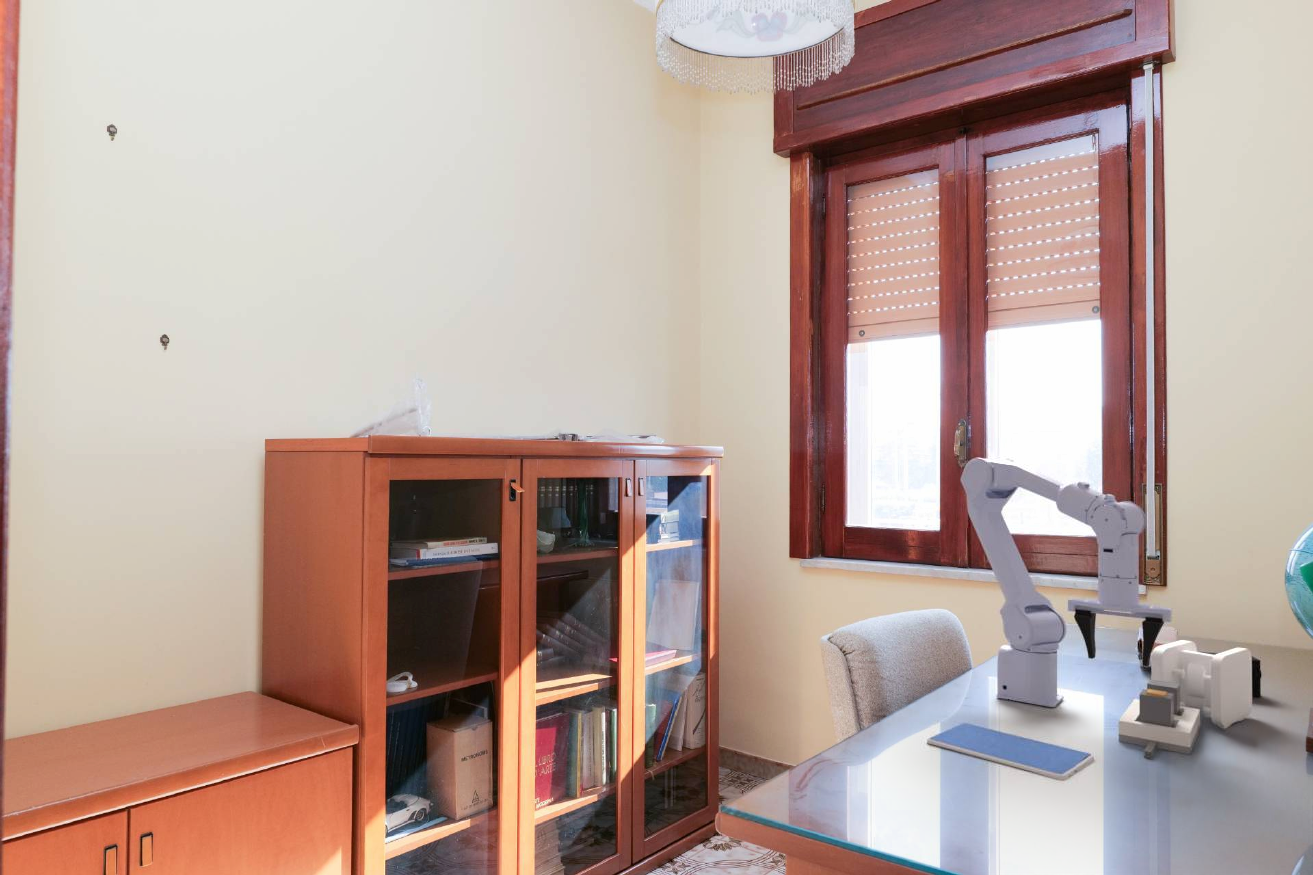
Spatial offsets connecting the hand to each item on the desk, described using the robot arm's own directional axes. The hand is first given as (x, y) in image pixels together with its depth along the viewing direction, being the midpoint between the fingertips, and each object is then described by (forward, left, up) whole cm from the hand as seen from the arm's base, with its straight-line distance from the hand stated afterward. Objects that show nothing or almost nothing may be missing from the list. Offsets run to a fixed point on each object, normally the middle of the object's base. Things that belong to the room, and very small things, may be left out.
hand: (1118, 661), depth 132 cm
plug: (+6, -6, -9) cm, 12 cm away
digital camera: (+12, +36, -10) cm, 39 cm away
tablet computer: (-10, -26, -11) cm, 30 cm away
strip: (+6, -5, -10) cm, 13 cm away
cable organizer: (+10, +14, -10) cm, 20 cm away
